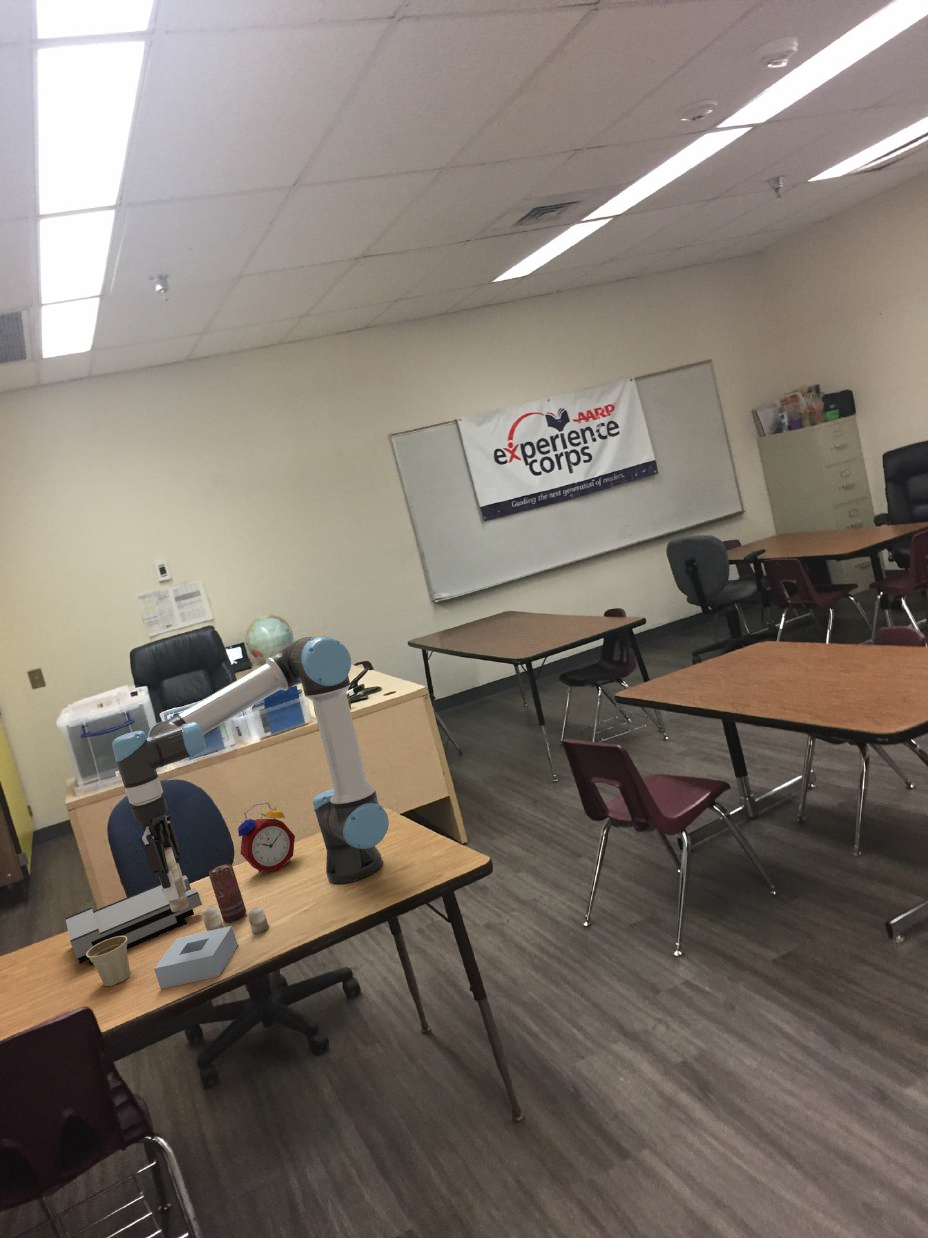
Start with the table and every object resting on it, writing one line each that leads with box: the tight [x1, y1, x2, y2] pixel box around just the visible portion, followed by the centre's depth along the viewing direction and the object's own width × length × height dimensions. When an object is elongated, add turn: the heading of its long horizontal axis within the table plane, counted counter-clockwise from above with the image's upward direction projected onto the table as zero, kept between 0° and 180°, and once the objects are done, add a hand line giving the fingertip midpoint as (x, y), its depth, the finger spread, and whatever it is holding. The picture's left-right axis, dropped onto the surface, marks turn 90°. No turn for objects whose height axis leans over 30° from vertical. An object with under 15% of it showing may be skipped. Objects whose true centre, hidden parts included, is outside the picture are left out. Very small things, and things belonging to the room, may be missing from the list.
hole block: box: [154, 925, 239, 990], centre depth 213 cm, size 14×14×5 cm
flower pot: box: [86, 936, 132, 987], centre depth 218 cm, size 9×9×9 cm
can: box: [208, 862, 247, 924], centre depth 236 cm, size 6×6×14 cm
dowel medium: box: [200, 904, 225, 932], centre depth 226 cm, size 4×4×8 cm
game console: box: [65, 873, 203, 967], centre depth 245 cm, size 21×32×8 cm, turn 117°
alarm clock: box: [237, 801, 296, 877], centre depth 265 cm, size 15×9×20 cm, turn 123°
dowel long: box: [164, 847, 189, 912], centre depth 211 cm, size 4×4×14 cm
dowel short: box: [246, 906, 270, 935], centre depth 225 cm, size 4×4×5 cm
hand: (176, 895), depth 211 cm, fingers closed on dowel long, 4 cm apart
